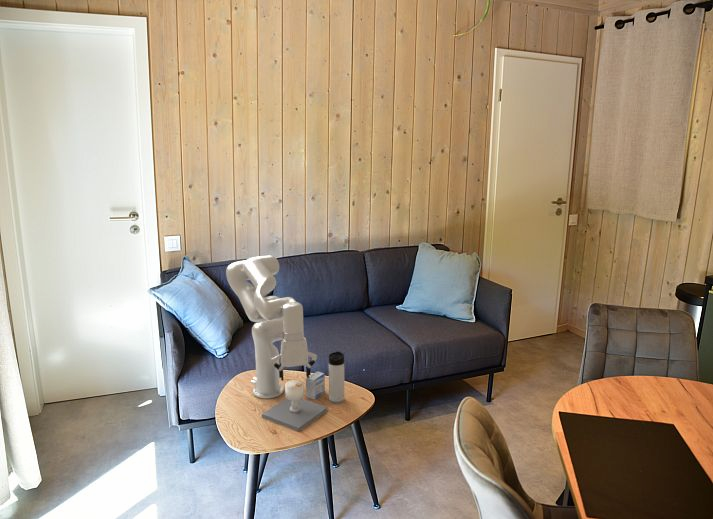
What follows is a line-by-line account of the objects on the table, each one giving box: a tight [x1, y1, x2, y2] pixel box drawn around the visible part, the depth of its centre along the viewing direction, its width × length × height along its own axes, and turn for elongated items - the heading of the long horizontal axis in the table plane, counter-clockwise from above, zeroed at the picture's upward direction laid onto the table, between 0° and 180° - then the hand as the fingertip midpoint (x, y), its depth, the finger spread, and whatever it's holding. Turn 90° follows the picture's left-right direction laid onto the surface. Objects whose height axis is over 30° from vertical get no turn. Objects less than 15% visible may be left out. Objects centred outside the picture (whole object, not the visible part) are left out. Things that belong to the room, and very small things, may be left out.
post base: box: [261, 398, 329, 432], centre depth 210 cm, size 18×18×7 cm
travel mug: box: [328, 350, 345, 405], centre depth 219 cm, size 6×7×20 cm
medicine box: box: [305, 371, 326, 400], centre depth 225 cm, size 8×4×9 cm, turn 150°
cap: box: [284, 379, 305, 401], centre depth 208 cm, size 7×7×6 cm
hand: (295, 378), depth 206 cm, fingers open, 9 cm apart
